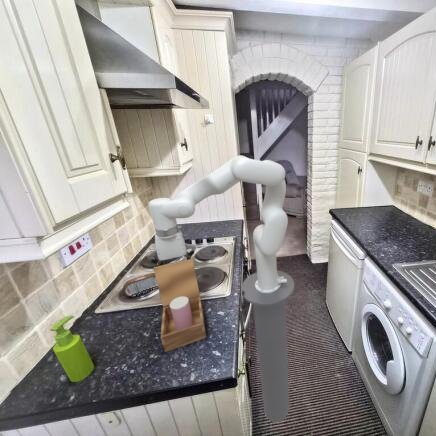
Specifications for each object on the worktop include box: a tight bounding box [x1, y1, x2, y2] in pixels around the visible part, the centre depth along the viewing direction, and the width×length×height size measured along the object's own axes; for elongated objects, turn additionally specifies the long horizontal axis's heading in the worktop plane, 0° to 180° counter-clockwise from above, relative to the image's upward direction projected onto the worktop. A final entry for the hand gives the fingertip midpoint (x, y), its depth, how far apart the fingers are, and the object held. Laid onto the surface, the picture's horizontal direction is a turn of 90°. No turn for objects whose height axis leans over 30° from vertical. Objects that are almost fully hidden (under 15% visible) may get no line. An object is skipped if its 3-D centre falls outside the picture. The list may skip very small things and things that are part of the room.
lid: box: [153, 258, 201, 307], centre depth 92 cm, size 16×14×6 cm
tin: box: [122, 272, 159, 298], centre depth 107 cm, size 15×3×8 cm, turn 126°
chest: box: [160, 296, 207, 353], centre depth 86 cm, size 16×14×7 cm
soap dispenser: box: [49, 315, 95, 383], centre depth 69 cm, size 6×7×20 cm
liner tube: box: [170, 296, 194, 331], centre depth 85 cm, size 6×6×12 cm
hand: (176, 268), depth 93 cm, fingers open, 9 cm apart
